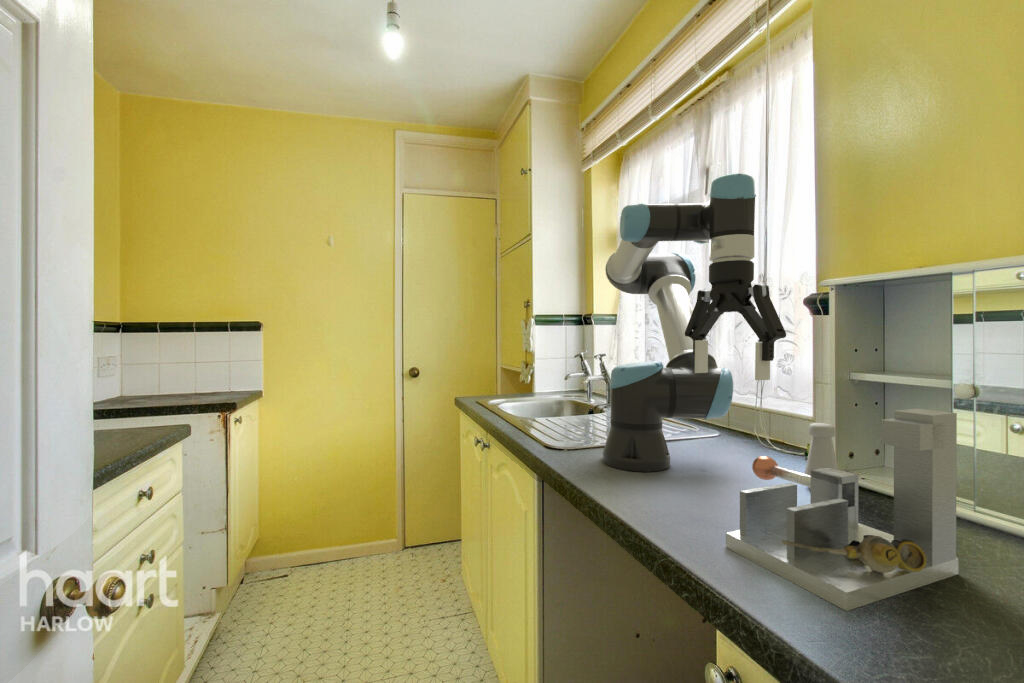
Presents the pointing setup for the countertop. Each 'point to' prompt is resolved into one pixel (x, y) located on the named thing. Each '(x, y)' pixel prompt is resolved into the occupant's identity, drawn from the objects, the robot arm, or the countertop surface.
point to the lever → (780, 472)
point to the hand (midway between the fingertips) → (729, 376)
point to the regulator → (879, 553)
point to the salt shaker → (821, 447)
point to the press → (834, 518)
